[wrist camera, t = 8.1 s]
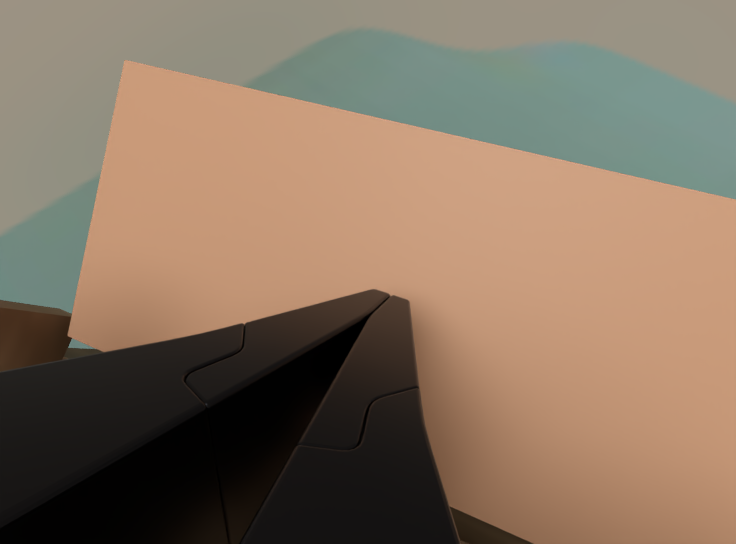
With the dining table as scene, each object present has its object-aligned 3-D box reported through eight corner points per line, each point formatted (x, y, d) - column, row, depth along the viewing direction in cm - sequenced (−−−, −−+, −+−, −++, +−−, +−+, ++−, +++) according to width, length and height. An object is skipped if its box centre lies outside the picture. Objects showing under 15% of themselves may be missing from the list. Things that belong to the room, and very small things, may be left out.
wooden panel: (769, 648, 10) (951, 249, 9) (67, 335, 15) (124, 59, 14) (740, 606, 11) (897, 249, 10) (98, 329, 16) (153, 74, 15)
